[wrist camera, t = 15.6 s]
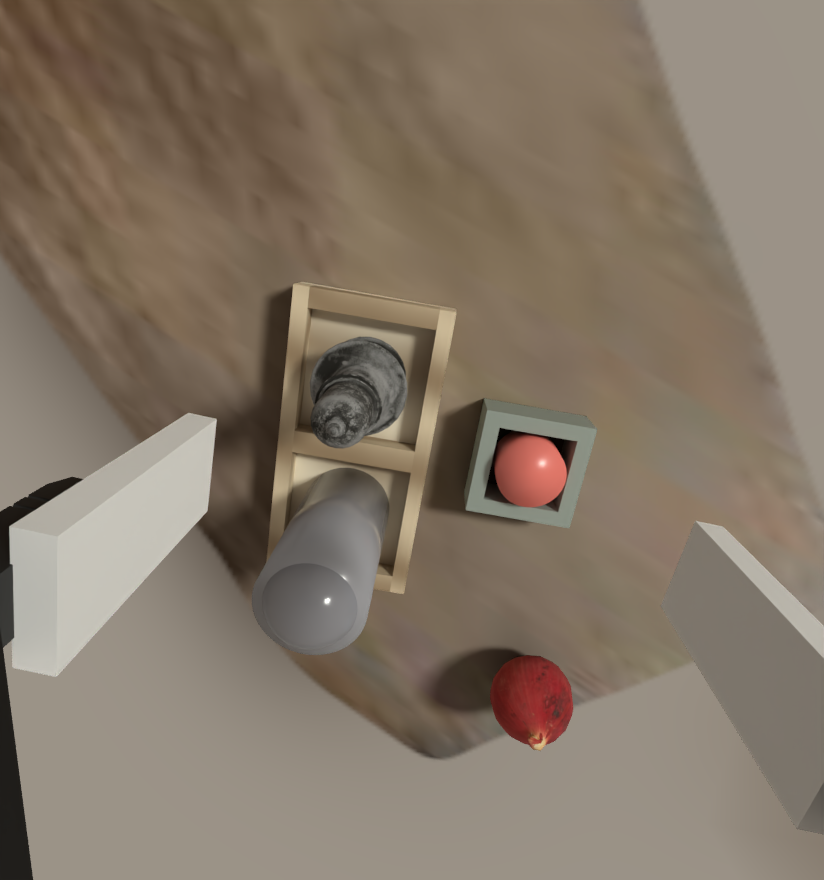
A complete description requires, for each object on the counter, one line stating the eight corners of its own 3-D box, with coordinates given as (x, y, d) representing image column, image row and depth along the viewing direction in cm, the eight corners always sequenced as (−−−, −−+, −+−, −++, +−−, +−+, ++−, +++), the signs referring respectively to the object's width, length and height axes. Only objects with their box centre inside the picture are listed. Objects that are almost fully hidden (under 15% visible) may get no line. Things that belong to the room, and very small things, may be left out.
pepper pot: (310, 460, 40) (244, 563, 27) (395, 475, 40) (371, 585, 27) (301, 537, 42) (235, 667, 29) (382, 551, 42) (354, 688, 29)
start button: (500, 423, 38) (504, 436, 36) (564, 434, 38) (574, 449, 36) (486, 483, 40) (489, 501, 37) (548, 494, 40) (557, 512, 37)
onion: (536, 620, 44) (555, 696, 36) (576, 671, 45) (602, 756, 38) (473, 655, 45) (479, 736, 38) (513, 704, 47) (527, 792, 39)
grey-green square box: (484, 398, 39) (487, 409, 36) (586, 416, 39) (597, 429, 36) (464, 492, 41) (465, 510, 38) (560, 509, 41) (569, 528, 38)
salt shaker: (405, 425, 39) (388, 499, 27) (318, 413, 39) (266, 482, 27) (416, 338, 37) (403, 378, 25) (325, 325, 37) (272, 361, 25)
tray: (303, 281, 37) (293, 283, 35) (455, 308, 37) (456, 312, 35) (275, 552, 43) (265, 569, 41) (405, 575, 43) (403, 594, 41)
